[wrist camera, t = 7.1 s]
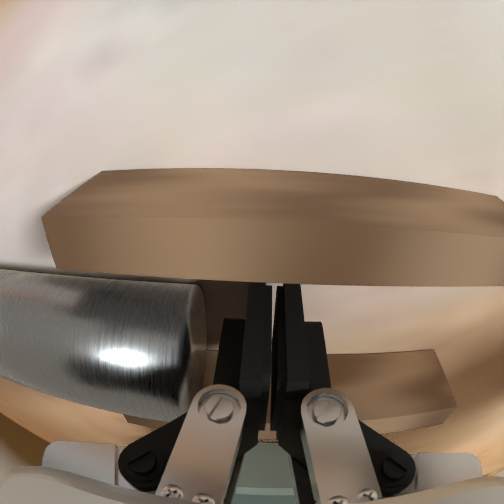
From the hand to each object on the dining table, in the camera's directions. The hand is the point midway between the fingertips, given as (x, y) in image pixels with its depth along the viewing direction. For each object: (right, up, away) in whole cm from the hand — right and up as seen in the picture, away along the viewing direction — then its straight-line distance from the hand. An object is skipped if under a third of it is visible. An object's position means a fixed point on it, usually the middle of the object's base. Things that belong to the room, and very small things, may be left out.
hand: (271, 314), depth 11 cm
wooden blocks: (+1, 0, +1) cm, 2 cm away
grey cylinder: (-9, +1, +1) cm, 9 cm away
